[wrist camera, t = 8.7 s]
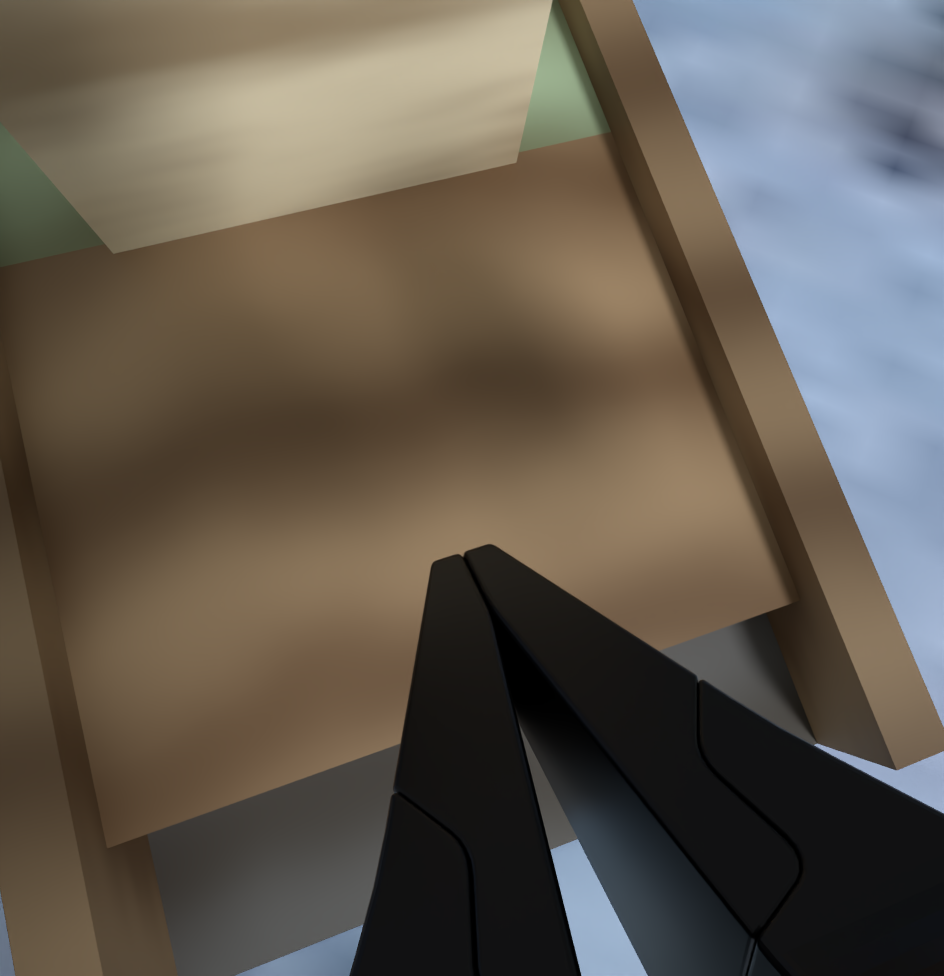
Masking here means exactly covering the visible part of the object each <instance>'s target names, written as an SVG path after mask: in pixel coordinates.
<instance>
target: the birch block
mask: <svg viewBox="0 0 944 976" xmlns="http://www.w3.org/2000/svg"><path fill="white" fill-rule="evenodd" d="M552 1H553V0H0V122H1V123H2V125H3V126H4V127H5V128H6V129H7V130H8V132H9V133H10V134H11V135H12V136H13V137H14V139H15V140H16V141H17V142H18V143H19V144H20V146H21V147H22V148H23V149H24V150H25V151H26V153H27V154H28V155H29V156H30V157H31V158H32V160H33V161H34V162H35V163H36V164H37V165H38V167H39V168H40V169H41V170H42V171H43V172H44V174H45V175H46V176H47V177H48V178H49V179H50V181H51V182H52V183H53V184H54V185H55V186H56V188H57V189H58V190H59V191H60V192H61V193H62V194H63V196H64V197H65V198H66V199H67V200H68V201H69V203H70V204H71V205H72V206H73V207H74V208H75V210H76V211H77V212H78V213H79V214H80V215H81V217H82V218H83V219H84V220H85V221H86V222H87V224H88V225H89V226H90V227H91V228H92V229H93V231H94V232H95V233H96V234H97V235H98V236H99V238H100V239H101V240H102V241H103V242H104V243H105V245H106V246H107V247H108V248H109V249H110V250H111V252H112V253H113V254H115V253H120V252H124V251H128V250H133V249H137V248H142V247H146V246H150V245H155V244H159V243H164V242H168V241H173V240H177V239H181V238H186V237H190V236H195V235H199V234H204V233H208V232H212V231H217V230H221V229H226V228H230V227H234V226H239V225H243V224H248V223H252V222H257V221H261V220H265V219H270V218H274V217H279V216H283V215H287V214H292V213H296V212H301V211H305V210H310V209H314V208H318V207H323V206H327V205H332V204H336V203H341V202H345V201H349V200H354V199H358V198H363V197H367V196H371V195H376V194H380V193H385V192H389V191H394V190H398V189H402V188H407V187H411V186H416V185H420V184H425V183H429V182H433V181H438V180H442V179H447V178H451V177H455V176H460V175H464V174H469V173H473V172H478V171H482V170H486V169H491V168H495V167H500V166H504V165H508V164H513V163H516V162H517V158H518V153H519V149H520V144H521V140H522V135H523V131H524V126H525V122H526V117H527V113H528V108H529V104H530V99H531V95H532V90H533V86H534V81H535V77H536V72H537V68H538V63H539V59H540V54H541V50H542V45H543V41H544V36H545V32H546V28H547V23H548V19H549V14H550V10H551V5H552Z"/></svg>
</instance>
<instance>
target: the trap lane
mask: <svg viewBox="0 0 944 976" xmlns="http://www.w3.org/2000/svg"><path fill="white" fill-rule="evenodd" d="M486 544H493V545H495V546H497V547H498V548H500V549H502V550H503V551H505V552H506V553H508V554H509V555H511V556H512V557H514V558H516V559H517V560H519V561H520V562H522V563H523V564H525V565H526V566H528V567H529V568H531V569H533V570H534V571H536V572H537V573H539V574H540V575H542V576H543V577H545V578H547V579H548V580H550V581H551V582H553V583H554V584H556V585H557V586H559V587H561V588H562V589H564V590H565V591H567V592H568V593H570V594H571V595H573V596H575V597H576V598H578V599H579V600H581V601H582V602H584V603H585V604H587V605H589V606H590V607H592V608H593V609H595V610H596V611H598V612H599V613H601V614H603V615H604V616H606V617H607V618H609V619H610V620H612V621H613V622H615V623H616V624H618V625H620V626H621V627H623V628H624V629H626V630H627V631H629V632H630V633H632V634H634V635H635V636H637V637H638V638H640V639H641V640H643V641H644V642H646V643H648V644H649V645H651V646H652V647H654V648H655V649H657V650H658V651H660V652H662V653H663V654H665V655H666V656H668V657H669V658H671V659H672V660H674V661H676V662H677V663H679V664H680V665H682V666H683V667H685V668H686V669H688V670H690V671H691V672H693V673H694V674H696V675H697V677H698V682H699V681H700V680H702V679H703V680H706V681H707V682H709V683H710V684H712V685H713V686H715V687H716V688H718V689H719V690H721V691H723V692H724V693H726V694H727V695H729V696H730V697H732V698H733V699H735V700H737V701H738V702H740V703H742V704H743V705H745V706H747V707H748V708H750V709H752V710H753V711H755V712H756V713H758V714H760V715H761V716H763V717H765V718H766V719H768V720H770V721H771V722H773V723H774V724H776V725H778V726H779V727H781V728H783V729H785V730H787V731H789V732H790V733H792V734H794V735H796V736H798V737H799V738H801V739H803V740H805V741H807V742H809V743H810V744H812V745H815V744H817V743H818V744H821V745H824V746H826V747H829V748H832V749H835V750H838V751H841V752H844V753H847V754H850V755H853V756H856V757H859V758H862V759H865V760H868V761H871V762H874V763H877V764H879V765H882V766H885V767H888V768H891V769H894V770H899V769H901V768H904V767H906V766H909V765H911V764H913V763H916V762H918V761H921V760H923V759H925V758H928V757H930V756H933V755H935V754H938V753H940V752H942V751H944V727H943V725H942V723H941V720H940V718H939V716H938V713H937V711H936V709H935V706H934V704H933V702H932V699H931V697H930V695H929V692H928V690H927V688H926V685H925V683H924V681H923V678H922V676H921V674H920V671H919V669H918V667H917V664H916V662H915V660H914V657H913V655H912V653H911V650H910V648H909V646H908V643H907V641H906V639H905V636H904V634H903V632H902V629H901V627H900V625H899V622H898V620H897V618H896V615H895V613H894V611H893V608H892V606H891V604H890V601H889V599H888V597H887V594H886V592H885V590H884V587H883V585H882V583H881V580H880V578H879V576H878V573H877V571H876V569H875V566H874V564H873V562H872V559H871V557H870V555H869V552H868V550H867V547H866V545H865V543H864V540H863V538H862V536H861V533H860V531H859V529H858V526H857V524H856V522H855V519H854V517H853V515H852V512H851V510H850V508H849V505H848V503H847V501H846V498H845V496H844V494H843V491H842V489H841V487H840V484H839V482H838V480H837V477H836V475H835V473H834V470H833V468H832V466H831V463H830V461H829V459H828V456H827V454H826V452H825V449H824V447H823V445H822V442H821V440H820V438H819V435H818V433H817V431H816V428H815V426H814V424H813V421H812V419H811V417H810V414H809V412H808V410H807V407H806V405H805V403H804V400H803V398H802V396H801V393H800V391H799V389H798V386H797V384H796V382H795V379H794V377H793V375H792V372H791V370H790V368H789V365H788V363H787V361H786V358H785V356H784V354H783V351H782V349H781V347H780V344H779V342H778V340H777V337H776V335H775V333H774V330H773V328H772V326H771V323H770V321H769V319H768V316H767V314H766V312H765V309H764V307H763V305H762V302H761V300H760V297H759V295H758V293H757V290H756V288H755V286H754V283H753V281H752V279H751V276H750V274H749V272H748V269H747V267H746V265H745V262H744V260H743V258H742V255H741V253H740V251H739V248H738V246H737V244H736V241H735V239H734V237H733V234H732V232H731V230H730V227H729V225H728V223H727V220H726V218H725V216H724V213H723V211H722V209H721V206H720V204H719V202H718V199H717V197H716V195H715V192H714V190H713V188H712V185H711V183H710V181H709V178H708V176H707V174H706V171H705V169H704V167H703V164H702V162H701V160H700V157H699V155H698V153H697V150H696V148H695V146H694V143H693V141H692V139H691V136H690V134H689V132H688V129H687V127H686V125H685V122H684V120H683V118H682V115H681V113H680V111H679V108H678V106H677V104H676V101H675V99H674V97H673V94H672V92H671V90H670V87H669V85H668V83H667V80H666V78H665V76H664V73H663V71H662V69H661V66H660V64H659V62H658V59H657V57H656V55H655V52H654V50H653V47H652V45H651V43H650V40H649V38H648V36H647V33H646V31H645V29H644V26H643V24H642V22H641V19H640V17H639V15H638V12H637V10H636V8H635V5H634V3H633V1H632V0H553V1H552V5H551V10H550V14H549V19H548V23H547V28H546V32H545V36H544V41H543V45H542V50H541V54H540V59H539V63H538V68H537V72H536V77H535V81H534V86H533V90H532V95H531V99H530V104H529V108H528V113H527V117H526V122H525V126H524V131H523V135H522V140H521V144H520V149H519V153H518V158H517V162H516V163H513V164H508V165H504V166H500V167H495V168H491V169H486V170H482V171H478V172H473V173H469V174H464V175H460V176H455V177H451V178H447V179H442V180H438V181H433V182H429V183H425V184H420V185H416V186H411V187H407V188H402V189H398V190H394V191H389V192H385V193H380V194H376V195H371V196H367V197H363V198H358V199H354V200H349V201H345V202H341V203H336V204H332V205H327V206H323V207H318V208H314V209H310V210H305V211H301V212H296V213H292V214H287V215H283V216H279V217H274V218H270V219H265V220H261V221H257V222H252V223H248V224H243V225H239V226H234V227H230V228H226V229H221V230H217V231H212V232H208V233H204V234H199V235H195V236H190V237H186V238H181V239H177V240H173V241H168V242H164V243H159V244H155V245H150V246H146V247H142V248H137V249H133V250H128V251H124V252H120V253H115V254H113V253H112V252H111V250H110V249H109V248H108V247H107V246H106V245H105V243H104V242H103V241H102V240H101V239H100V238H99V236H98V235H97V234H96V233H95V232H94V231H93V229H92V228H91V227H90V226H89V225H88V224H87V222H86V221H85V220H84V219H83V218H82V217H81V215H80V214H79V213H78V212H77V211H76V210H75V208H74V207H73V206H72V205H71V204H70V203H69V201H68V200H67V199H66V198H65V197H64V196H63V194H62V193H61V192H60V191H59V190H58V189H57V188H56V186H55V185H54V184H53V183H52V182H51V181H50V179H49V178H48V177H47V176H46V175H45V174H44V172H43V171H42V170H41V169H40V168H39V167H38V165H37V164H36V163H35V162H34V161H33V160H32V158H31V157H30V156H29V155H28V154H27V153H26V151H25V150H24V149H23V148H22V147H21V146H20V144H19V143H18V142H17V141H16V140H15V139H14V137H13V136H12V135H11V134H10V133H9V132H8V130H7V129H6V128H5V127H4V126H3V125H2V123H1V122H0V892H1V897H2V903H3V908H4V914H5V920H6V925H7V931H8V937H9V942H10V948H11V954H12V959H13V965H14V970H15V976H234V975H237V974H239V973H242V972H244V971H247V970H249V969H252V968H254V967H257V966H260V965H262V964H265V963H267V962H270V961H272V960H275V959H277V958H280V957H282V956H285V955H287V954H290V953H292V952H295V951H297V950H300V949H302V948H305V947H307V946H310V945H312V944H315V943H317V942H320V941H322V940H325V939H327V938H330V937H332V936H335V935H337V934H340V933H342V932H345V931H347V930H350V929H352V928H355V927H357V926H360V925H362V924H364V921H365V917H366V913H367V909H368V906H369V902H370V898H371V894H372V890H373V886H374V881H375V877H376V872H377V867H378V862H379V857H380V852H381V847H382V842H383V838H384V833H385V827H386V821H387V816H388V810H389V804H390V798H391V796H392V794H394V791H393V783H394V777H395V772H396V766H397V760H398V754H399V748H400V742H401V737H402V731H403V725H404V719H405V713H406V708H407V702H408V696H409V690H410V684H411V679H412V673H413V667H414V661H415V655H416V650H417V644H418V638H419V632H420V626H421V621H422V615H423V609H424V603H425V597H426V591H427V586H428V580H429V574H430V568H431V565H432V563H433V562H434V561H436V560H439V559H442V558H445V557H448V556H451V555H455V554H460V555H462V556H463V555H464V553H465V551H467V550H470V549H473V548H477V547H480V546H483V545H486ZM519 726H520V725H519ZM520 730H521V734H522V738H523V742H524V746H525V750H526V754H527V758H528V762H529V766H530V770H531V774H532V778H533V782H534V786H535V790H536V794H537V798H538V802H539V807H540V811H541V815H542V819H543V823H544V827H545V831H546V835H547V839H548V843H549V847H550V850H551V849H553V848H556V847H558V846H561V845H563V844H566V843H568V842H571V841H573V840H576V839H578V838H577V836H576V834H575V832H574V830H573V828H572V826H571V824H570V823H569V821H568V819H567V817H566V815H565V813H564V811H563V809H562V807H561V805H560V803H559V801H558V799H557V797H556V795H555V793H554V791H553V789H552V787H551V785H550V783H549V782H548V780H547V778H546V776H545V774H544V772H543V770H542V768H541V766H540V764H539V762H538V760H537V758H536V756H535V754H534V752H533V750H532V748H531V746H530V744H529V742H528V740H527V739H526V737H525V735H524V733H523V731H522V729H521V727H520Z"/></svg>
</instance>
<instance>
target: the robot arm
mask: <svg viewBox="0 0 944 976" xmlns="http://www.w3.org/2000/svg"><path fill="white" fill-rule="evenodd" d="M519 725H520V726H519ZM520 727H521V729H522V731H523V733H524V735H525V737H526V739H527V740H528V742H529V744H530V746H531V748H532V750H533V752H534V754H535V756H536V758H537V760H538V762H539V764H540V766H541V768H542V770H543V772H544V774H545V776H546V778H547V780H548V782H549V783H550V785H551V787H552V789H553V791H554V793H555V795H556V797H557V799H558V801H559V803H560V805H561V807H562V809H563V811H564V813H565V815H566V817H567V819H568V821H569V823H570V824H571V826H572V828H573V830H574V832H575V834H576V836H577V838H578V840H579V842H580V844H581V846H582V848H583V850H584V852H585V854H586V856H587V858H588V860H589V862H590V864H591V866H592V867H593V869H594V871H595V873H596V875H597V877H598V879H599V881H600V883H601V885H602V887H603V889H604V891H605V893H606V895H607V897H608V899H609V901H610V903H611V905H612V907H613V908H614V910H615V912H616V914H617V916H618V918H619V920H620V922H621V924H622V926H623V928H624V930H625V932H626V934H627V936H628V938H629V940H630V942H631V944H632V946H633V948H634V949H635V951H636V953H637V955H638V957H639V959H640V961H641V963H642V965H643V967H644V969H645V971H646V973H647V975H648V976H944V813H942V812H940V811H938V810H936V809H934V808H932V807H930V806H928V805H926V804H924V803H922V802H920V801H919V800H917V799H915V798H913V797H911V796H909V795H907V794H905V793H903V792H901V791H899V790H897V789H895V788H894V787H892V786H890V785H888V784H886V783H884V782H882V781H880V780H878V779H876V778H874V777H872V776H871V775H869V774H867V773H865V772H863V771H861V770H859V769H857V768H855V767H853V766H851V765H849V764H847V763H846V762H844V761H842V760H840V759H838V758H836V757H834V756H832V755H830V754H829V753H827V752H825V751H823V750H821V749H820V748H818V747H816V746H814V745H812V744H810V743H809V742H807V741H805V740H803V739H801V738H799V737H798V736H796V735H794V734H792V733H790V732H789V731H787V730H785V729H783V728H781V727H779V726H778V725H776V724H774V723H773V722H771V721H770V720H768V719H766V718H765V717H763V716H761V715H760V714H758V713H756V712H755V711H753V710H752V709H750V708H748V707H747V706H745V705H743V704H742V703H740V702H738V701H737V700H735V699H733V698H732V697H730V696H729V695H727V694H726V693H724V692H723V691H721V690H719V689H718V688H716V687H715V686H713V685H712V684H710V683H709V682H707V681H706V680H703V679H702V680H700V681H699V682H698V677H697V675H696V674H694V673H693V672H691V671H690V670H688V669H686V668H685V667H683V666H682V665H680V664H679V663H677V662H676V661H674V660H672V659H671V658H669V657H668V656H666V655H665V654H663V653H662V652H660V651H658V650H657V649H655V648H654V647H652V646H651V645H649V644H648V643H646V642H644V641H643V640H641V639H640V638H638V637H637V636H635V635H634V634H632V633H630V632H629V631H627V630H626V629H624V628H623V627H621V626H620V625H618V624H616V623H615V622H613V621H612V620H610V619H609V618H607V617H606V616H604V615H603V614H601V613H599V612H598V611H596V610H595V609H593V608H592V607H590V606H589V605H587V604H585V603H584V602H582V601H581V600H579V599H578V598H576V597H575V596H573V595H571V594H570V593H568V592H567V591H565V590H564V589H562V588H561V587H559V586H557V585H556V584H554V583H553V582H551V581H550V580H548V579H547V578H545V577H543V576H542V575H540V574H539V573H537V572H536V571H534V570H533V569H531V568H529V567H528V566H526V565H525V564H523V563H522V562H520V561H519V560H517V559H516V558H514V557H512V556H511V555H509V554H508V553H506V552H505V551H503V550H502V549H500V548H498V547H497V546H495V545H493V544H486V545H483V546H480V547H477V548H473V549H470V550H467V551H465V553H464V555H463V556H462V555H460V554H455V555H451V556H448V557H445V558H442V559H439V560H436V561H434V562H433V563H432V565H431V568H430V574H429V580H428V586H427V591H426V597H425V603H424V609H423V615H422V621H421V626H420V632H419V638H418V644H417V650H416V655H415V661H414V667H413V673H412V679H411V684H410V690H409V696H408V702H407V708H406V713H405V719H404V725H403V731H402V737H401V742H400V748H399V754H398V760H397V766H396V772H395V777H394V783H393V791H394V794H392V796H391V798H390V804H389V810H388V816H387V821H386V827H385V833H384V838H383V842H382V847H381V852H380V857H379V862H378V867H377V872H376V877H375V881H374V886H373V890H372V894H371V898H370V902H369V906H368V909H367V913H366V917H365V921H364V925H363V928H362V932H361V936H360V940H359V944H358V947H357V951H356V955H355V958H354V962H353V965H352V969H351V972H350V975H349V976H581V972H580V968H579V964H578V960H577V956H576V952H575V948H574V944H573V940H572V936H571V932H570V928H569V924H568V920H567V916H566V912H565V908H564V903H563V899H562V895H561V891H560V887H559V883H558V879H557V875H556V871H555V867H554V863H553V859H552V855H551V851H550V847H549V843H548V839H547V835H546V831H545V827H544V823H543V819H542V815H541V811H540V807H539V802H538V798H537V794H536V790H535V786H534V782H533V778H532V774H531V770H530V766H529V762H528V758H527V754H526V750H525V746H524V742H523V738H522V734H521V730H520Z"/></svg>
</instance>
